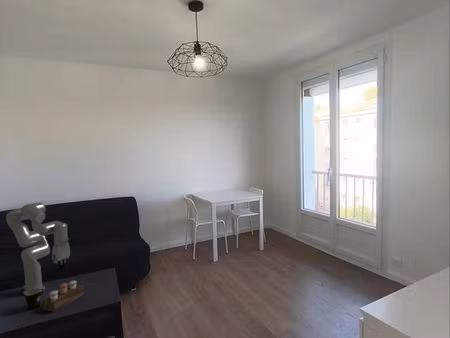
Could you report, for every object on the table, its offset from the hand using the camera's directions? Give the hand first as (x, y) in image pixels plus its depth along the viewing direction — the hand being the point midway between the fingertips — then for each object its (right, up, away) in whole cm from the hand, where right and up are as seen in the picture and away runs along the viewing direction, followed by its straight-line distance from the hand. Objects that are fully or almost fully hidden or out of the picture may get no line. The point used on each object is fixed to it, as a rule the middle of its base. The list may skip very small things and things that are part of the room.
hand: (62, 269), depth 184 cm
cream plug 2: (+5, -18, +4) cm, 19 cm away
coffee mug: (-12, -21, -7) cm, 25 cm away
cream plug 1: (+1, -19, -9) cm, 21 cm away
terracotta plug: (+3, -17, -3) cm, 18 cm away
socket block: (+3, -20, -2) cm, 21 cm away
